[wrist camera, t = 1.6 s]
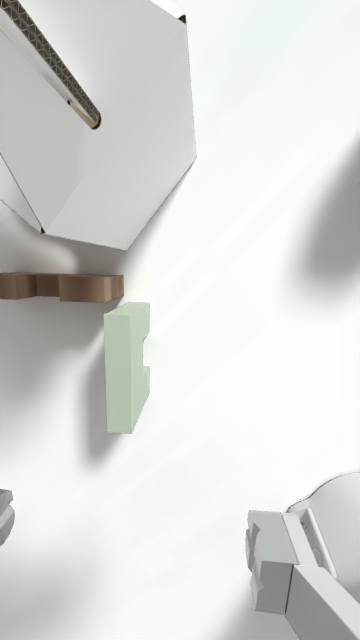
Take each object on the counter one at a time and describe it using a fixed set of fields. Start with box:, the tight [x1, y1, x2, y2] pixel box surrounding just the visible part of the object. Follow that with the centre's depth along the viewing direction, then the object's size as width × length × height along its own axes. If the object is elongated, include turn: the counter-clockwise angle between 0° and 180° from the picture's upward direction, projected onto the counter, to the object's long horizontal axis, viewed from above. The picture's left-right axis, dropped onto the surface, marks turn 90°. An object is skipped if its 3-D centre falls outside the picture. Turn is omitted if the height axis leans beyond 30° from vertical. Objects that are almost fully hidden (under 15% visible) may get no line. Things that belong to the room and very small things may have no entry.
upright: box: [0, 272, 124, 303], centre depth 31 cm, size 14×2×6 cm, turn 88°
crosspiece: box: [103, 302, 150, 434], centre depth 31 cm, size 12×2×9 cm, turn 179°
